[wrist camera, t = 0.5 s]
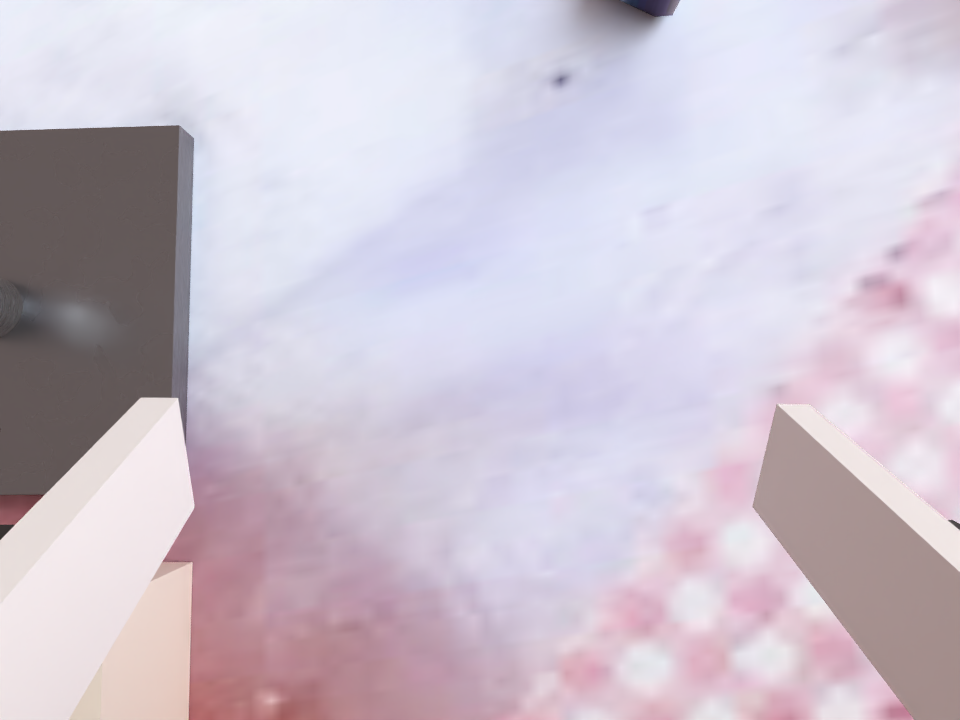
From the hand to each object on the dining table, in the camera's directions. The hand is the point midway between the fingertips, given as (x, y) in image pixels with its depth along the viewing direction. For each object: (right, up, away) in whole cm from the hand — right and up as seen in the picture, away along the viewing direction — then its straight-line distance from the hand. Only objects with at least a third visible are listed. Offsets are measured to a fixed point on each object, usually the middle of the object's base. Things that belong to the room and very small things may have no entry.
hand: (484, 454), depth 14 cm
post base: (-24, +5, +19) cm, 31 cm away
